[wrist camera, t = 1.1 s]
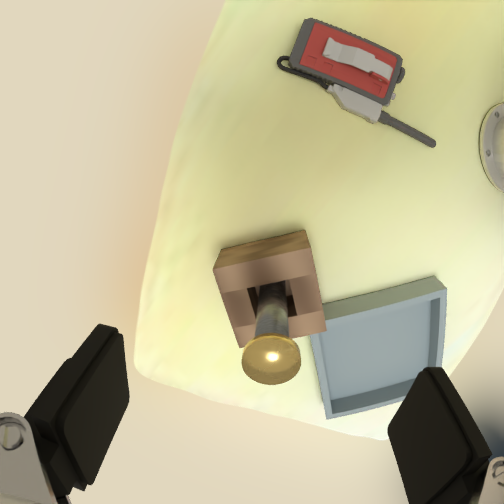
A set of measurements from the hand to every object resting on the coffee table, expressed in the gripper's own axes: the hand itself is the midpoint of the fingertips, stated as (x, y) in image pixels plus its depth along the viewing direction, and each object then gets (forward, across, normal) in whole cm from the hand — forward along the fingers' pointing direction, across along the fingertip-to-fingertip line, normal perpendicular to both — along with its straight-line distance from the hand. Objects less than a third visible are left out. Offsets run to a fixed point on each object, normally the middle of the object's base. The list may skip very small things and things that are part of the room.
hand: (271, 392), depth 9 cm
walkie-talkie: (+29, -9, -16) cm, 34 cm away
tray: (+28, -19, +17) cm, 38 cm away
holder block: (+29, -2, +9) cm, 30 cm away
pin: (+28, -2, +9) cm, 29 cm away
